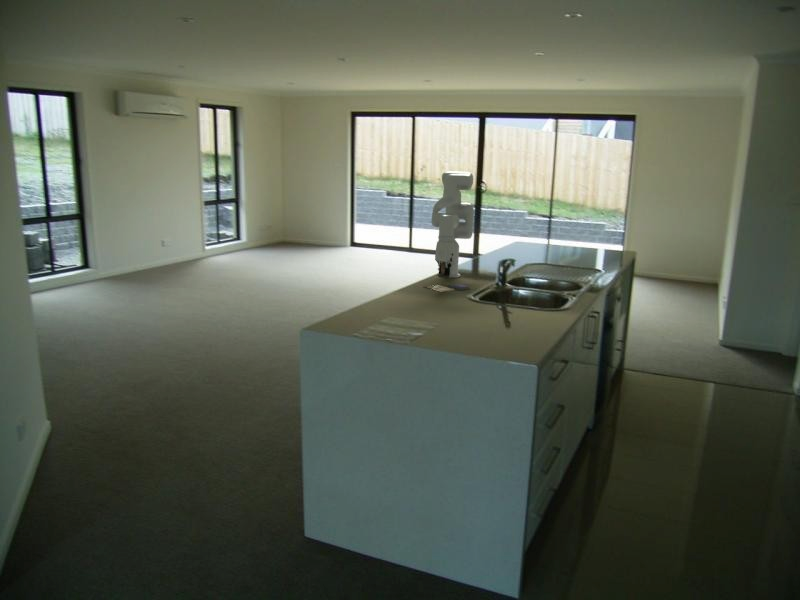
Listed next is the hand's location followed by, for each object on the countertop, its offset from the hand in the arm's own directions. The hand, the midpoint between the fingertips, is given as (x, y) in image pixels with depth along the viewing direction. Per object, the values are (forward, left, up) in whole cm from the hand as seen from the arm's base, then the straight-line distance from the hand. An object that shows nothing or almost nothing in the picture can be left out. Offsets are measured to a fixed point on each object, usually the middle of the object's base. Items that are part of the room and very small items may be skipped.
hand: (444, 274), depth 326 cm
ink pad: (+1, +10, -8) cm, 13 cm away
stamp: (0, 0, -1) cm, 1 cm away
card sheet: (-4, 0, -8) cm, 9 cm away
